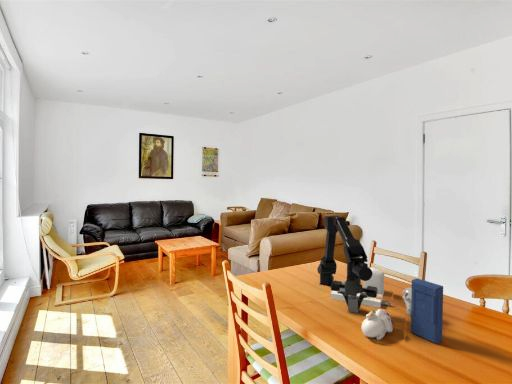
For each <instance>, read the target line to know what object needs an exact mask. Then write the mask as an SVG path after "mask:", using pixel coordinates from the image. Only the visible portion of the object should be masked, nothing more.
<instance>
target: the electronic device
mask: <svg viewBox="0 0 512 384" xmlns="http://www.w3.org/2000/svg"><path fill="white" fill-rule="evenodd" d="M411 289H412V297H411V316H410V332H411V333H412V334H415V335H416V336H418V337H421V338H423V339H425V340H427V341H429V342H431V343H434V344H436V345H438V344H439V343H441V342H443V324H444V323H443V319H444V318H443V317H444V286H443V285H440V284H438V283H435V282H431V281H427V280H424V279H420V278H414V279H412V280H411Z"/></svg>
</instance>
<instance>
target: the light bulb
mask: <svg viewBox="0 0 512 384" xmlns="http://www.w3.org/2000/svg"><path fill="white" fill-rule="evenodd" d="M401 294H402V295H401V297H402V300H403V301H404V304H405V308H406V314H407V315H409V316H410V317H411V297H412V289H411V287H407V288H405V289H403V291H402V293H401Z"/></svg>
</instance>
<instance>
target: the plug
mask: <svg viewBox="0 0 512 384" xmlns="http://www.w3.org/2000/svg"><path fill="white" fill-rule="evenodd" d="M358 304H359V296H352V295H350V296H349V297H348V306H347V312H350V313H354V314H358V313H359V312H360V309H358Z"/></svg>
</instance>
